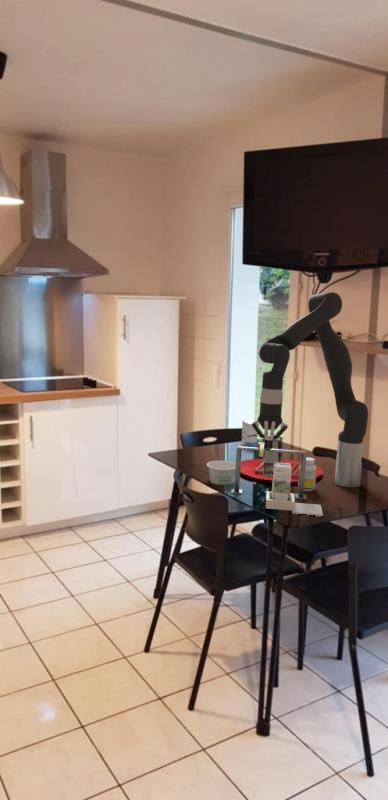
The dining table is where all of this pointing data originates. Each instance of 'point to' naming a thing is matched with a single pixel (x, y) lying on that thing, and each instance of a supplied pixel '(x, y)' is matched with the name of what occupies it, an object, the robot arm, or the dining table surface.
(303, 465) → the latch rail
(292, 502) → the socket
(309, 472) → the pill bottle
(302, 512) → the pad
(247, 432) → the ink box
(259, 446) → the latch
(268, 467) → the coffee box
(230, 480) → the food container
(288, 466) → the syrup box
